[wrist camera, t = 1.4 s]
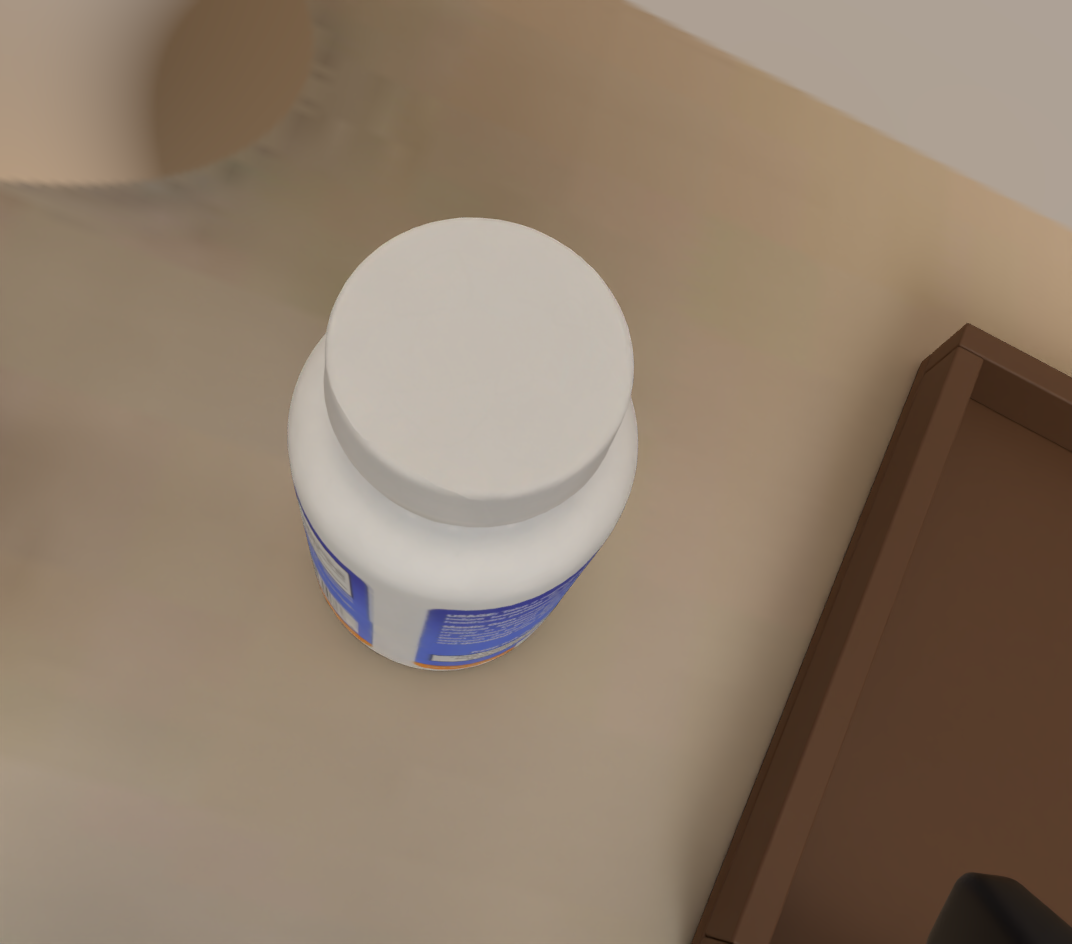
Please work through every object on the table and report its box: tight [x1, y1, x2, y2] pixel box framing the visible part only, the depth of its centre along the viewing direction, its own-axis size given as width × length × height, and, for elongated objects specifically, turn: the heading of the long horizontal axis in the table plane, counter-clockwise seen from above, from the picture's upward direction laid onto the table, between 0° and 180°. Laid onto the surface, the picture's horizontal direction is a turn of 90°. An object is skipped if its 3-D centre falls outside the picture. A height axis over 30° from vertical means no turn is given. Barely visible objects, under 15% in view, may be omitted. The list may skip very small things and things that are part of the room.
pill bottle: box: [287, 217, 638, 671], centre depth 17 cm, size 5×5×10 cm
